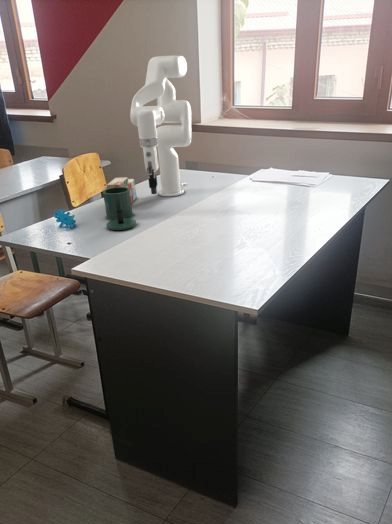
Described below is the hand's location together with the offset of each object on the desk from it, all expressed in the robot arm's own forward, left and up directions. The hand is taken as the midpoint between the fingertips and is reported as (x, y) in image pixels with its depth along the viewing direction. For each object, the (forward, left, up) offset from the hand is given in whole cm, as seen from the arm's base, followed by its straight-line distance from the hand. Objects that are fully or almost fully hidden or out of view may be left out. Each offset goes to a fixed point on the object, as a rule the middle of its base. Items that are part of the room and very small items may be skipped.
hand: (153, 186), depth 221 cm
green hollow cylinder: (+12, -11, -12) cm, 20 cm away
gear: (+35, -18, -12) cm, 41 cm away
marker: (0, 0, -3) cm, 3 cm away
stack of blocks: (-1, -25, -12) cm, 28 cm away
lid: (+20, +1, -12) cm, 24 cm away
